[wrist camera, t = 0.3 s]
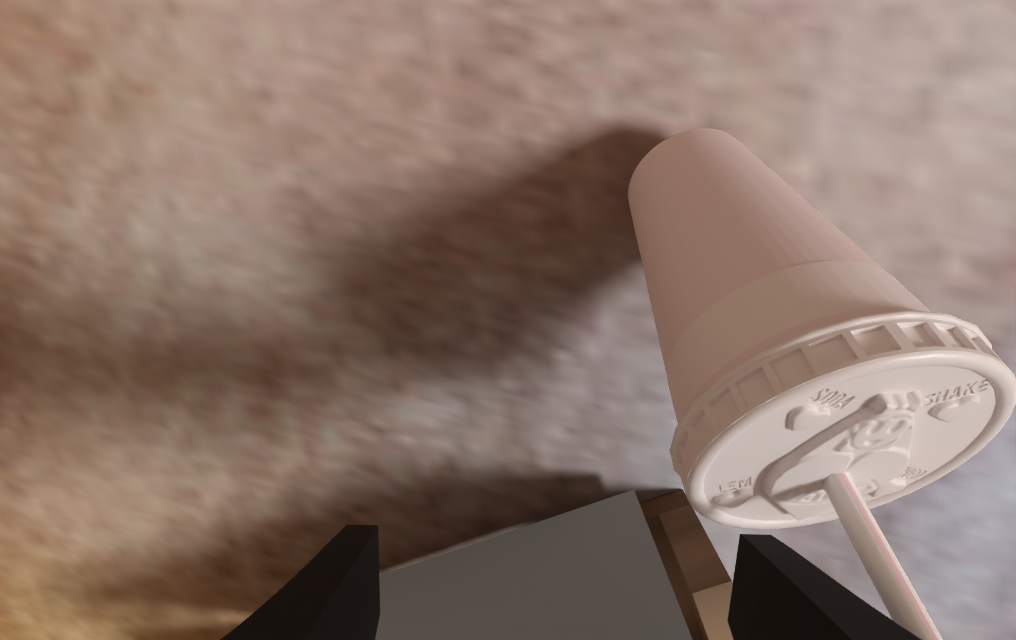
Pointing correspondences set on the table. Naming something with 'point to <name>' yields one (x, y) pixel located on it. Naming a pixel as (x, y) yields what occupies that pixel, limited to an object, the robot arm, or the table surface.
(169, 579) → the table surface
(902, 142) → the table surface
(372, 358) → the table surface
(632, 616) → the panel
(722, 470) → the smoothie
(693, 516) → the box
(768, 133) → the table surface
